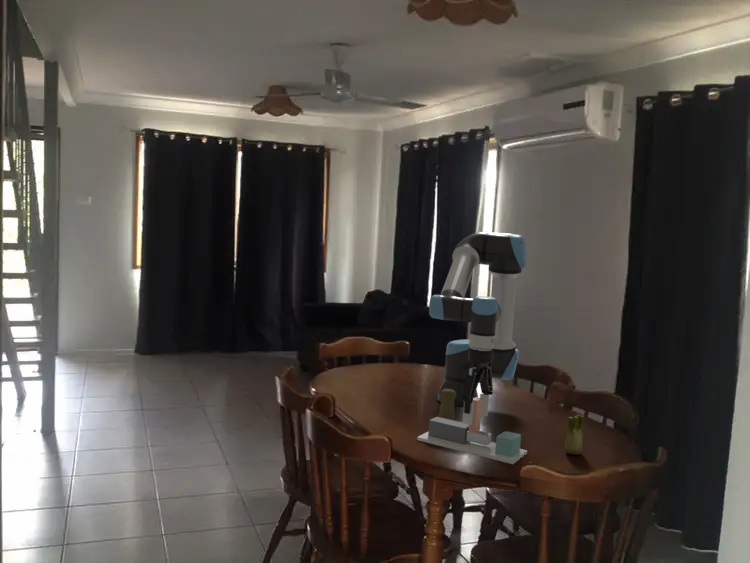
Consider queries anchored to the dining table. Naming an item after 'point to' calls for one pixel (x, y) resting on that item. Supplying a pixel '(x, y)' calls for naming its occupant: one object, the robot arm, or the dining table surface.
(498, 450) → the socket block
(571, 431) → the fennel bulb
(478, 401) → the inner bar
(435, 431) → the outer sleeve
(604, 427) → the dining table surface
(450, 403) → the cork
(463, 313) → the robot arm
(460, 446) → the base board
